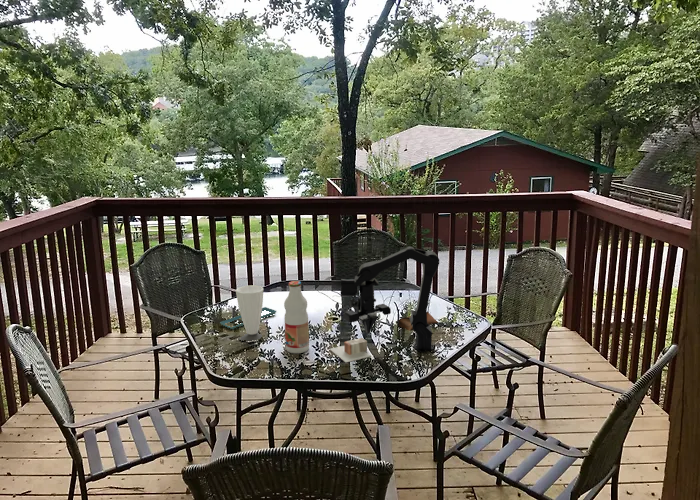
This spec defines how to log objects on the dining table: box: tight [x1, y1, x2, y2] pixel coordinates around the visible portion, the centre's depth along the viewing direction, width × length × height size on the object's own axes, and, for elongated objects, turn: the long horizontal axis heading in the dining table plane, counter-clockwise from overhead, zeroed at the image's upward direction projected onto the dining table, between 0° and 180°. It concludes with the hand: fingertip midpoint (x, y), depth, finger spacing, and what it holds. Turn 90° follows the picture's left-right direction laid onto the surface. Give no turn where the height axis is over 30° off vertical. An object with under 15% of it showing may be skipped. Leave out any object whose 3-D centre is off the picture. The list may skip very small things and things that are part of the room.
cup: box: [235, 284, 264, 342], centre depth 220 cm, size 12×12×22 cm
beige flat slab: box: [329, 345, 372, 364], centre depth 206 cm, size 14×11×1 cm
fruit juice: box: [283, 280, 310, 354], centre depth 207 cm, size 9×9×28 cm
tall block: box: [343, 337, 368, 355], centre depth 206 cm, size 4×4×8 cm
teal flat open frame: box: [219, 306, 277, 330], centre depth 243 cm, size 26×9×2 cm, turn 137°
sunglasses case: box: [397, 311, 440, 331], centre depth 235 cm, size 18×7×7 cm, turn 123°
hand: (367, 333), depth 208 cm, fingers closed
